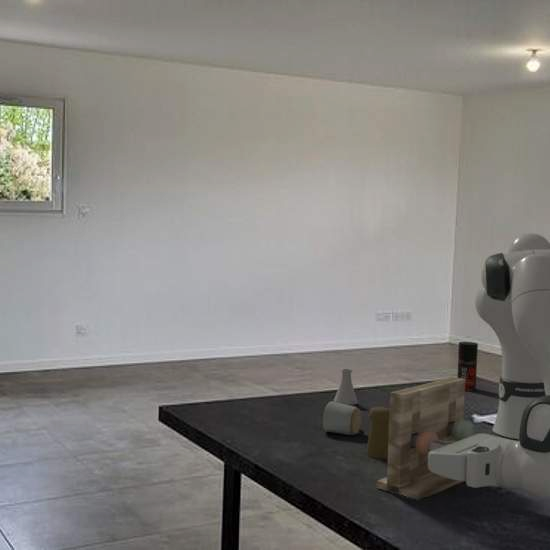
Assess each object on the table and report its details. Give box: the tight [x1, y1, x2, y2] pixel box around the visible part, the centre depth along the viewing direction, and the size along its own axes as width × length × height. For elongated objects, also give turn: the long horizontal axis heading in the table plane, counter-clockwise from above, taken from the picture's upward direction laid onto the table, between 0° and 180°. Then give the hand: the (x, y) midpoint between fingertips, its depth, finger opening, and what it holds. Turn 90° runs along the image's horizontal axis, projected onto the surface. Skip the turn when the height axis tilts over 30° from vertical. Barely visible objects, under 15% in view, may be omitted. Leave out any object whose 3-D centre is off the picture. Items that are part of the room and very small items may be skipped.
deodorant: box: [456, 341, 479, 392], centre depth 259 cm, size 6×6×15 cm
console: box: [376, 376, 466, 501], centre depth 166 cm, size 10×24×20 cm, turn 137°
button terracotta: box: [411, 431, 439, 456], centre depth 160 cm, size 7×5×5 cm, turn 47°
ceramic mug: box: [322, 400, 363, 436], centre depth 203 cm, size 11×8×8 cm
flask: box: [333, 368, 359, 406], centre depth 235 cm, size 7×7×10 cm
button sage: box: [448, 419, 475, 441], centre depth 171 cm, size 7×5×5 cm, turn 47°
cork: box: [365, 406, 390, 459], centre depth 184 cm, size 6×6×11 cm
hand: (433, 445), depth 158 cm, fingers closed, pressing on button terracotta
